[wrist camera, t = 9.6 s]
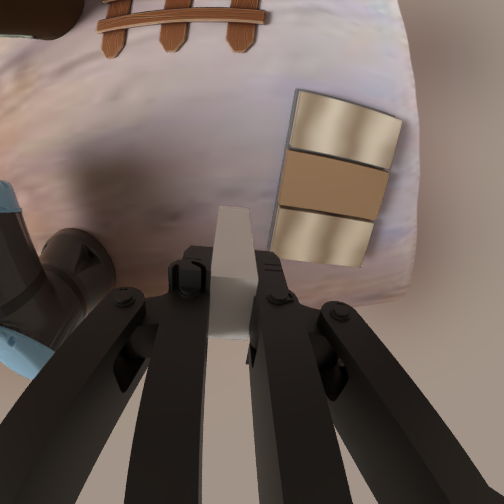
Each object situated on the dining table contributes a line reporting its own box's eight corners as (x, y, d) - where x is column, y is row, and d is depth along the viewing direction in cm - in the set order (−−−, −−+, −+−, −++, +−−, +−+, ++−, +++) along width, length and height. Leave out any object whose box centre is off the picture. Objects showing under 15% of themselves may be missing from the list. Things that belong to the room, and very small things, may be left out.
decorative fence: (112, -21, 21) (96, 61, 28) (108, -25, 19) (91, 60, 26) (270, -31, 22) (260, 55, 29) (271, -36, 21) (261, 52, 28)
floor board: (267, 247, 42) (268, 259, 39) (295, 89, 31) (300, 87, 28) (352, 257, 43) (359, 269, 40) (390, 115, 32) (402, 117, 29)
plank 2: (269, 251, 40) (271, 257, 38) (278, 204, 37) (280, 208, 35) (355, 261, 41) (360, 267, 40) (368, 218, 38) (374, 223, 37)
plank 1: (289, 144, 33) (291, 146, 32) (299, 91, 30) (302, 91, 28) (383, 165, 35) (389, 169, 33) (395, 118, 31) (402, 120, 29)
